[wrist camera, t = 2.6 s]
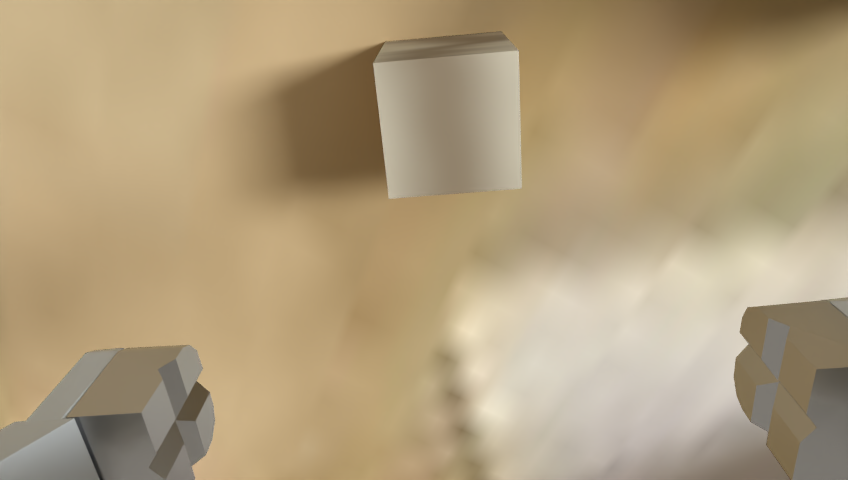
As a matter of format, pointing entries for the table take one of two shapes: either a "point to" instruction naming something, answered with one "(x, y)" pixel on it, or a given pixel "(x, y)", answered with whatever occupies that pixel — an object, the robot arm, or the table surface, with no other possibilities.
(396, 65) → the ash block
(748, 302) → the table surface
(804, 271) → the table surface
